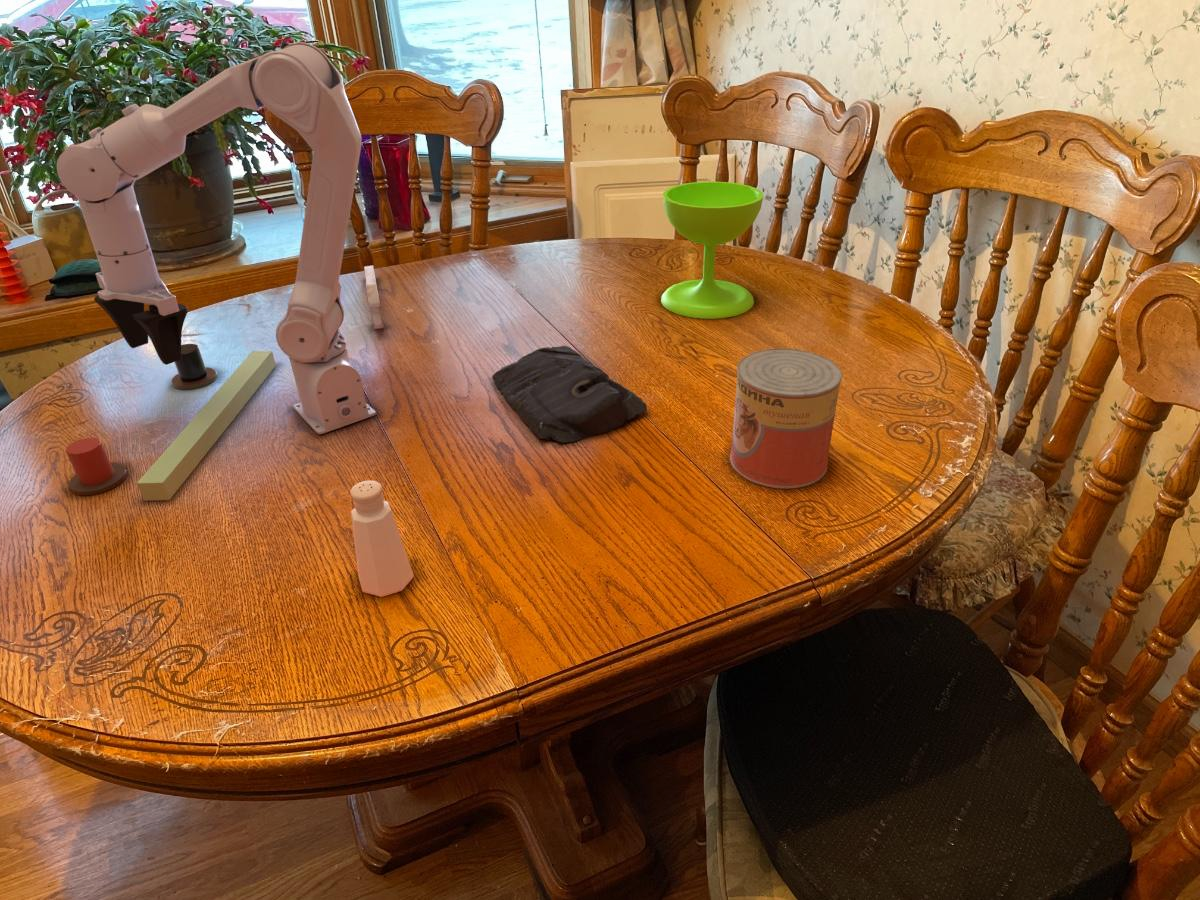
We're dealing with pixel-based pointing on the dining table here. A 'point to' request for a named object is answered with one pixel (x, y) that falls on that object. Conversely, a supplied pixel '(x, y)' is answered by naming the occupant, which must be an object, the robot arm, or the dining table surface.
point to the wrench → (373, 297)
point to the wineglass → (710, 244)
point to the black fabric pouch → (565, 395)
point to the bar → (205, 428)
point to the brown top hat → (192, 369)
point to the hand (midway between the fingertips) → (155, 353)
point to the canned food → (784, 417)
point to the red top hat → (93, 468)
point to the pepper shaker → (377, 542)
